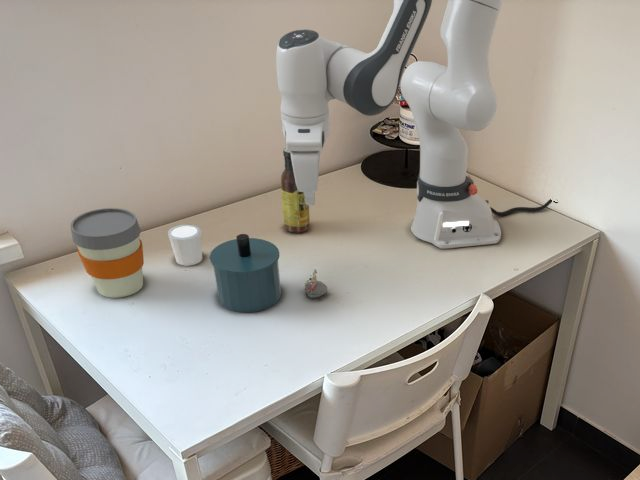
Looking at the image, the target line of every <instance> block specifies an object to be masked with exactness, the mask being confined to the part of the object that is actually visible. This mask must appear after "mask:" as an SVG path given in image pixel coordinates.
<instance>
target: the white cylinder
mask: <svg viewBox="0 0 640 480" xmlns="http://www.w3.org/2000/svg"><path fill="white" fill-rule="evenodd" d="M167 235H168V239H169V242H170V246H171V248H172V249H171V250H172V252H173V255H174V258H175V261H176V263H177V264H178V265H181V266H186V267H189V266H194V265H195V266H196V265H197V264H199V263H201V262H202V261H203V247H202V246H203V245H202V231H201V228H200V227H198V226H197V225H193V224H179V225H175V226H173V227H171V228H169V230H168V231H167Z"/></svg>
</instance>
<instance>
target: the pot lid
mask: <svg viewBox="0 0 640 480" xmlns="http://www.w3.org/2000/svg"><path fill="white" fill-rule="evenodd" d="M279 259H280V249H279V247H277V246H276V245H275V244H274V243H273V242H271V241H269V240H266V239H262V238H256V237H250V236H249V234H247V233H240V234H238V235H236V238H235V239H231V240H227V241H225V242H222V243H219V244H218V245H216V246H215V247H214V248H213V249H211V251H210V254H209V261H210V263H211V265H212V267H213V268H214V267H215V268H217V269H219V270H221V271H223V272H227V273H232V274H249V273H255V272H259V271H263V270H265V269H267V268H269V267H271V266H273V265H274V264H275V263H276V262H277V261H278V262H279Z"/></svg>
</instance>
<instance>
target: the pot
mask: <svg viewBox="0 0 640 480" xmlns="http://www.w3.org/2000/svg"><path fill="white" fill-rule="evenodd" d="M213 273H214V276H215V284H216V290H217V297H218V300H219V303H220V304H221V305H222V306H223V307H224V308H225V309H227V310H230V311H232V312H236V313H246V314H247V313H256V312H261V311H265V310H267V309H269V308H271V307H274V306H275V305H276V304H277V303H278V302H279V300H280V299H281V296H282V291H281V290H282V288H281V278H280V277H281V276H280V268H279V260H278V261H277V262H276V263H275V264H274V265H273V266H271V267H269V268H267V269H265V270H263V271H259V272H255V273H249V274H232V273H227V272H223V271H221V270H219V269H217V268H215V267H214V266H213Z"/></svg>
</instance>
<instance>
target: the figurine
mask: <svg viewBox="0 0 640 480" xmlns="http://www.w3.org/2000/svg"><path fill="white" fill-rule="evenodd" d="M316 274H318V272H317V269H315V268H314V270H313V272H312V274H310V275H309V277H308V279H306V280H305V283H304V285H303V287H304V288H303V290H304V293H305V294H306V295H307V296H308V297H309V298H310V299H313V298H320V297H322V296H323V295H325V294H327V292H328V286H327V285H326V283H324V281H323V282H322V281H320V280H318V278H317V275H316Z"/></svg>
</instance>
